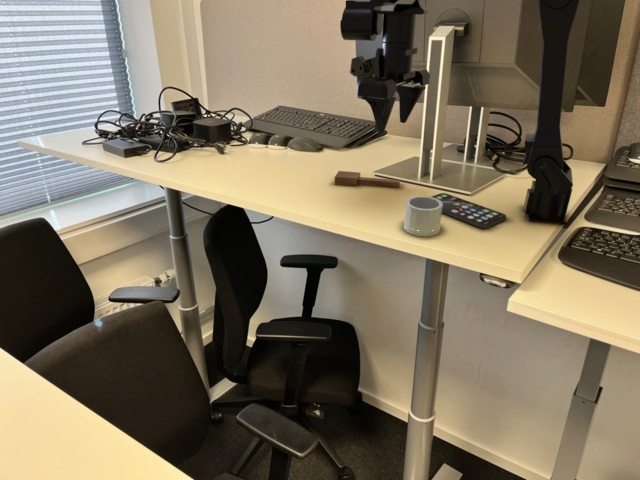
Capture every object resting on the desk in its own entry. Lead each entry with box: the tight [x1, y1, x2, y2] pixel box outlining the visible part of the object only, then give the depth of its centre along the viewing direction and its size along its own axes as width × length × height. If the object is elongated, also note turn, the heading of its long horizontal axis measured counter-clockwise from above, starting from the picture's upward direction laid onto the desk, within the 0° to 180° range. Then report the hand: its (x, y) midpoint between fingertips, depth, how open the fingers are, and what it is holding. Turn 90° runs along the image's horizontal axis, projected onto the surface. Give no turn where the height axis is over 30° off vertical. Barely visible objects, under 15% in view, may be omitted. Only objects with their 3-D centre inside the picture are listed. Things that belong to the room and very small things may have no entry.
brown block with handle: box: [334, 170, 401, 189], centre depth 103 cm, size 14×4×2 cm, turn 76°
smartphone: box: [431, 192, 507, 229], centre depth 89 cm, size 7×1×15 cm
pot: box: [403, 195, 443, 237], centre depth 82 cm, size 6×6×5 cm
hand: (392, 127), depth 92 cm, fingers open, 9 cm apart
